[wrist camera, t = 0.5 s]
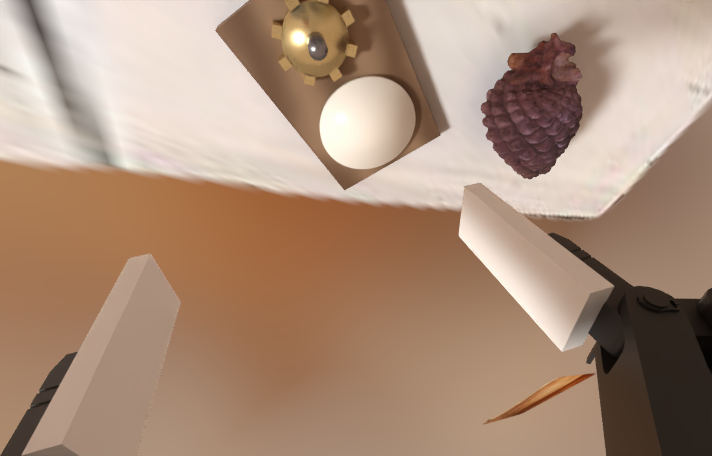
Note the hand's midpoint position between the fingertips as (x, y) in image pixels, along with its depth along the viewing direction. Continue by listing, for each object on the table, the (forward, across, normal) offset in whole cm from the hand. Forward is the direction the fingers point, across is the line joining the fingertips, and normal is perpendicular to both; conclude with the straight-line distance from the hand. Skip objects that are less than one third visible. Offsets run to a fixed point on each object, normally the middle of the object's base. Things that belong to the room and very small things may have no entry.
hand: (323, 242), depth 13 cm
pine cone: (+25, +27, -4) cm, 36 cm away
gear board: (+25, +7, +1) cm, 26 cm away
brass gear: (+23, +4, +6) cm, 24 cm away
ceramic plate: (+24, +8, -3) cm, 26 cm away
